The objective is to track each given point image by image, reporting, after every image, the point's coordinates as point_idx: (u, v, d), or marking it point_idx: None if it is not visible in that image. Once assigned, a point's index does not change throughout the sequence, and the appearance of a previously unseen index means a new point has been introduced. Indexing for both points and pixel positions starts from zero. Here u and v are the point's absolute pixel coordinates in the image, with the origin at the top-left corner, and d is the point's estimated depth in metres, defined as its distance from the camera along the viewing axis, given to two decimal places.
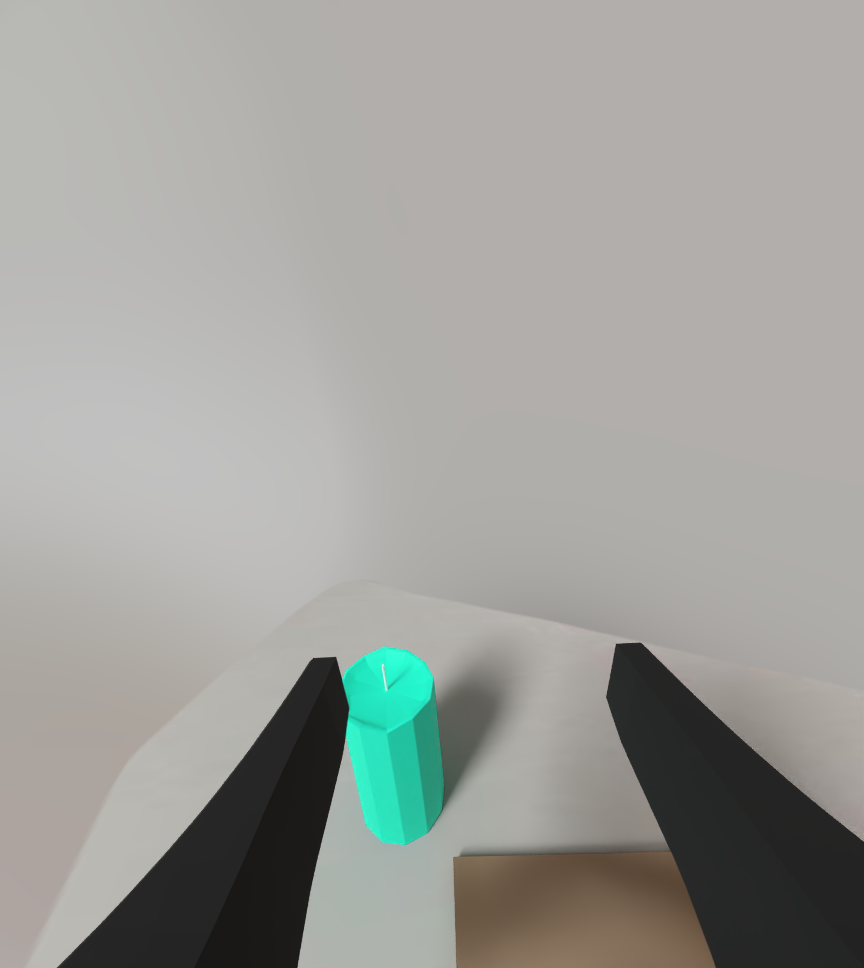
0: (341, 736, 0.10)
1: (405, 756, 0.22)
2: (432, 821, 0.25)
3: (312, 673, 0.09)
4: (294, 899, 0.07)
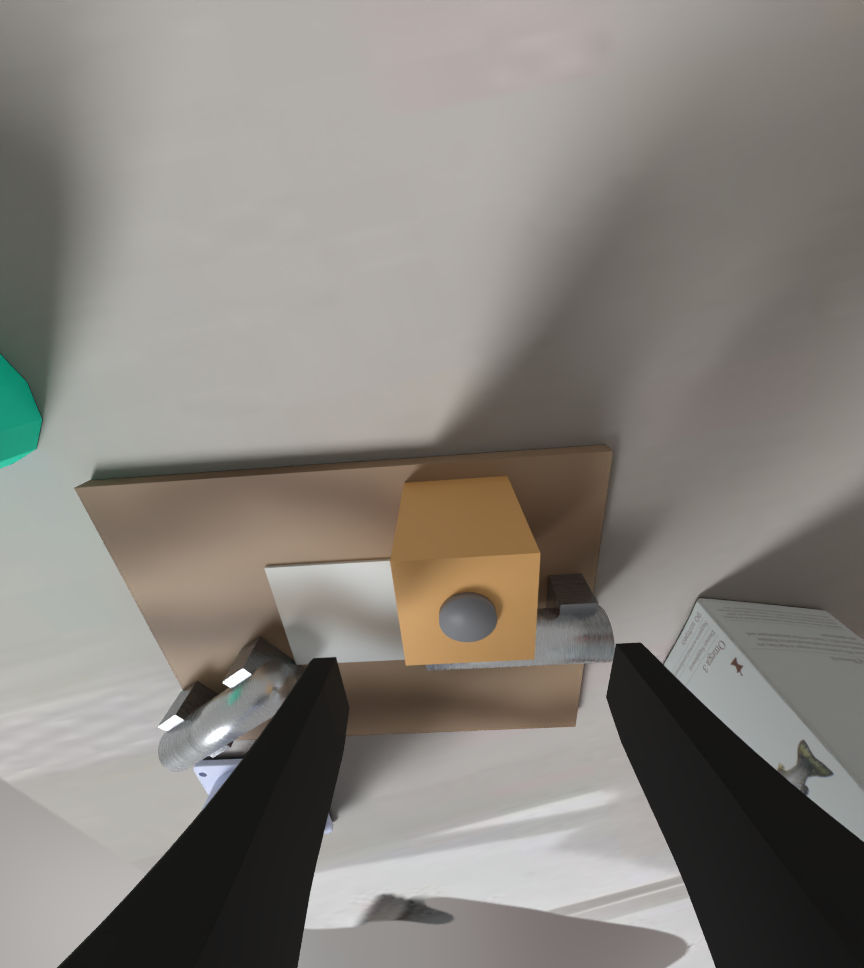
0: (341, 736, 0.10)
1: None
2: (30, 441, 0.16)
3: (312, 673, 0.09)
4: (294, 899, 0.07)
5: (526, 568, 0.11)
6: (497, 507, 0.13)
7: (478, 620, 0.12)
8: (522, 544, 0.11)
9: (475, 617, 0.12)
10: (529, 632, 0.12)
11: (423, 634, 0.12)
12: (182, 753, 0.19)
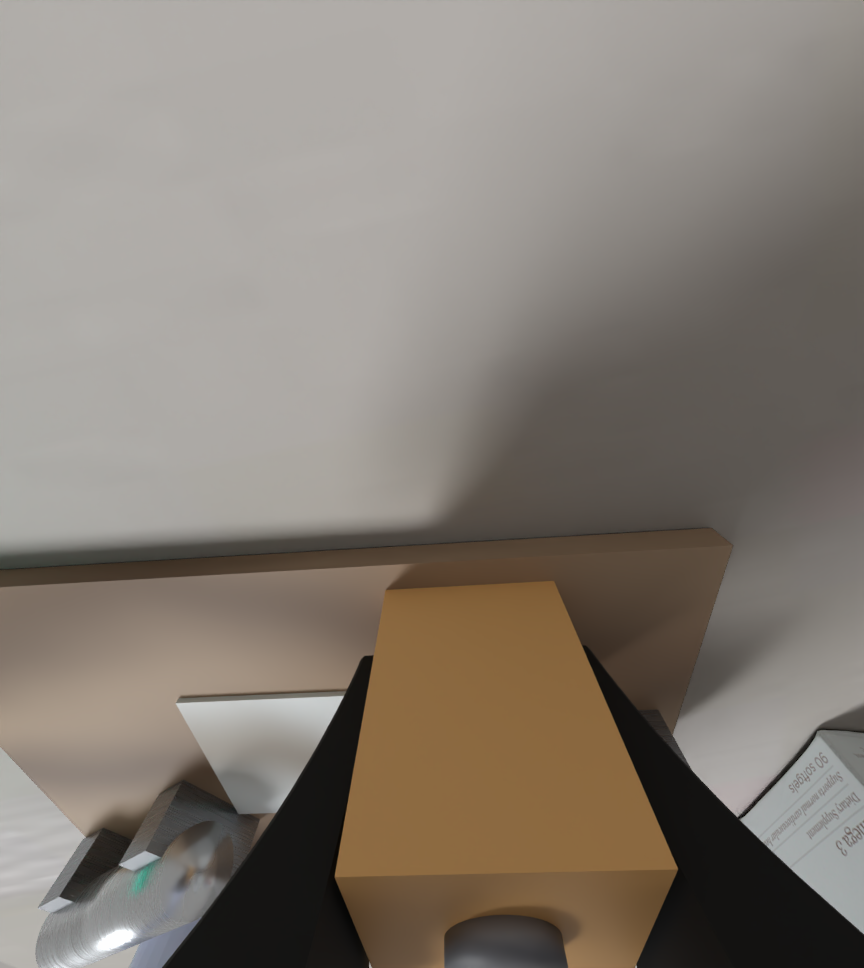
0: None
1: None
2: None
3: (367, 671, 0.09)
4: None
5: (640, 889, 0.05)
6: (551, 675, 0.07)
7: None
8: (627, 823, 0.05)
9: (522, 966, 0.05)
10: (625, 959, 0.06)
11: (412, 957, 0.06)
12: (65, 960, 0.13)
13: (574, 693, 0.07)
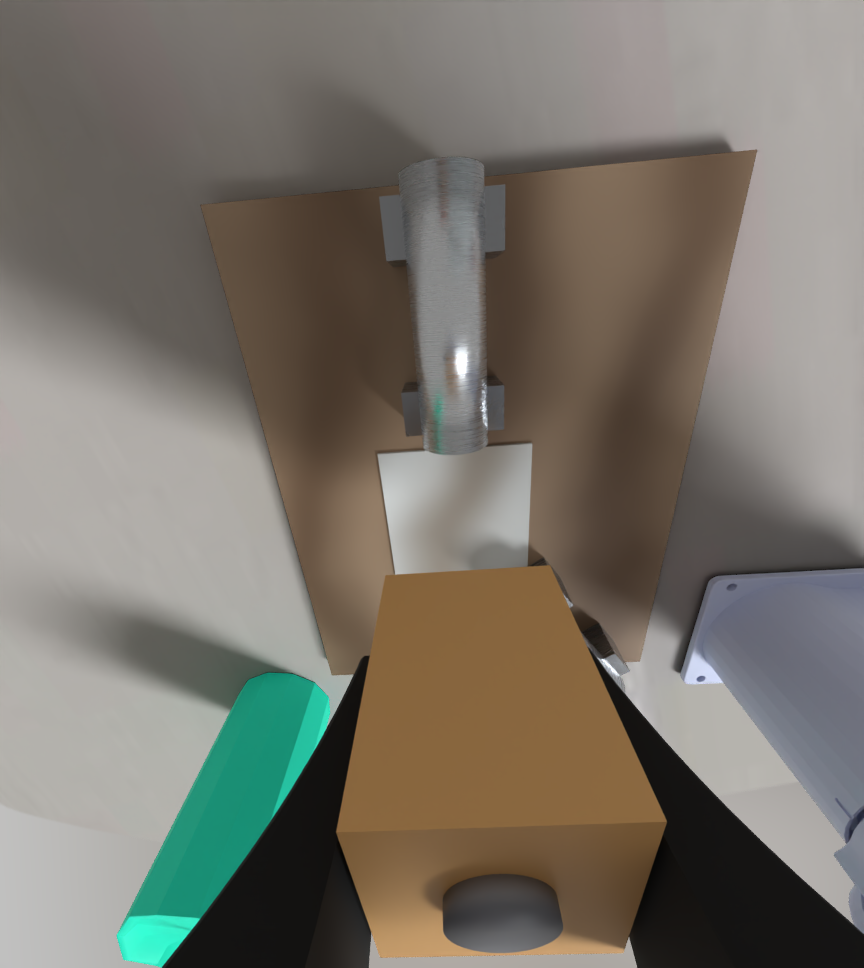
0: None
1: None
2: (305, 684, 0.23)
3: (366, 670, 0.09)
4: None
5: (631, 843, 0.05)
6: (546, 650, 0.07)
7: (524, 929, 0.06)
8: (618, 781, 0.05)
9: (518, 925, 0.06)
10: (620, 923, 0.06)
11: (412, 923, 0.06)
12: None
13: (568, 666, 0.07)
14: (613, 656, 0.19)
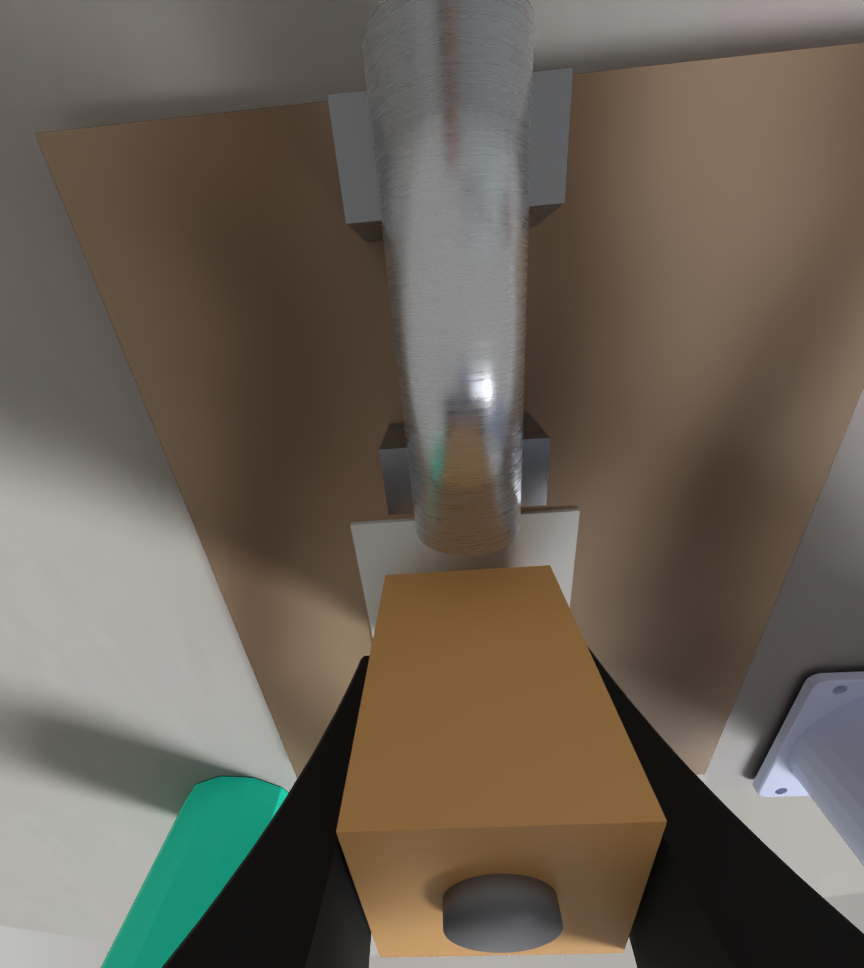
0: None
1: None
2: (268, 792, 0.18)
3: None
4: None
5: (631, 843, 0.05)
6: (546, 650, 0.07)
7: (523, 928, 0.06)
8: (618, 781, 0.05)
9: (518, 925, 0.06)
10: (620, 923, 0.06)
11: (412, 922, 0.06)
12: None
13: (568, 666, 0.07)
14: None
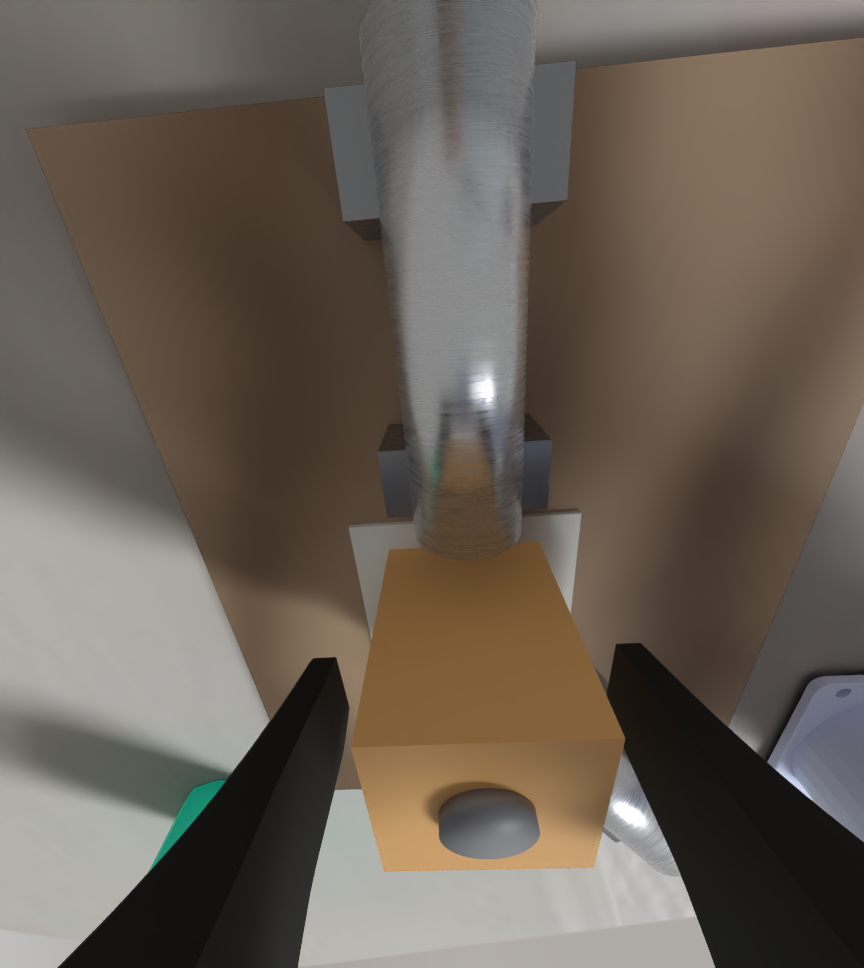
0: (341, 736, 0.10)
1: None
2: None
3: (312, 673, 0.09)
4: (294, 899, 0.07)
5: (596, 759, 0.06)
6: (532, 611, 0.08)
7: (507, 834, 0.07)
8: (587, 710, 0.06)
9: (502, 831, 0.07)
10: (589, 837, 0.07)
11: (412, 836, 0.07)
12: (652, 858, 0.13)
13: (551, 623, 0.08)
14: None
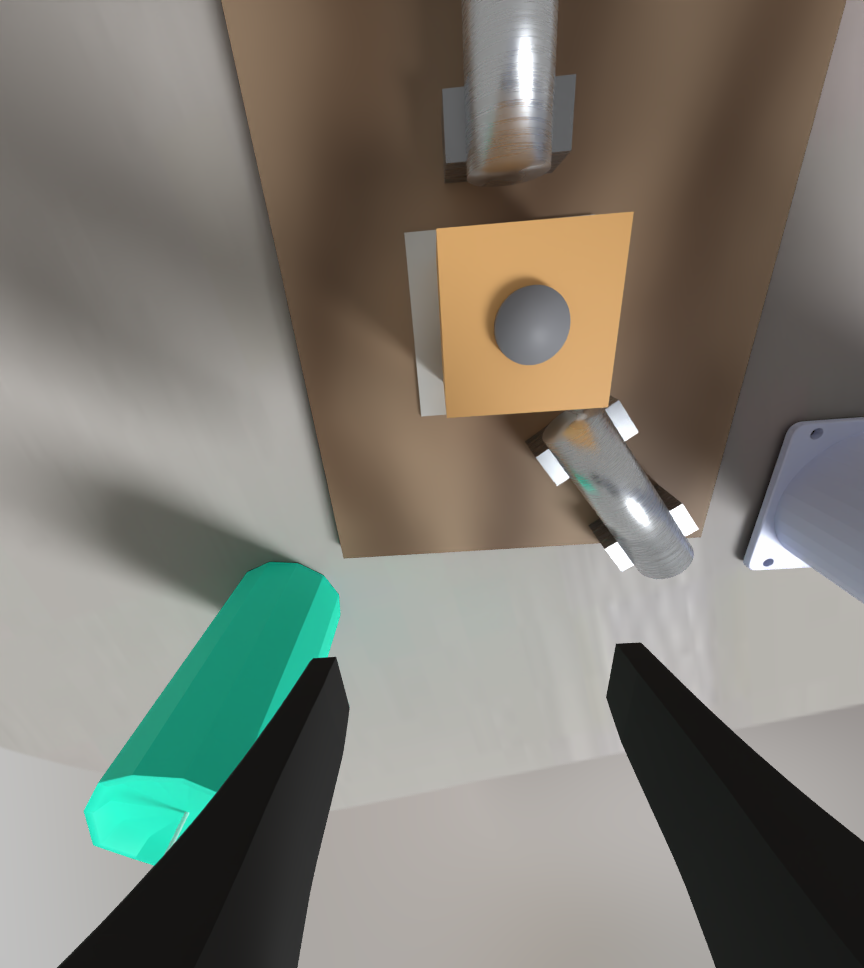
0: (341, 736, 0.10)
1: None
2: (312, 575, 0.20)
3: (312, 673, 0.09)
4: (294, 899, 0.07)
5: (612, 240, 0.09)
6: None
7: (546, 325, 0.09)
8: None
9: (542, 319, 0.09)
10: (606, 359, 0.10)
11: (471, 363, 0.10)
12: (652, 551, 0.15)
13: None
14: (680, 507, 0.16)
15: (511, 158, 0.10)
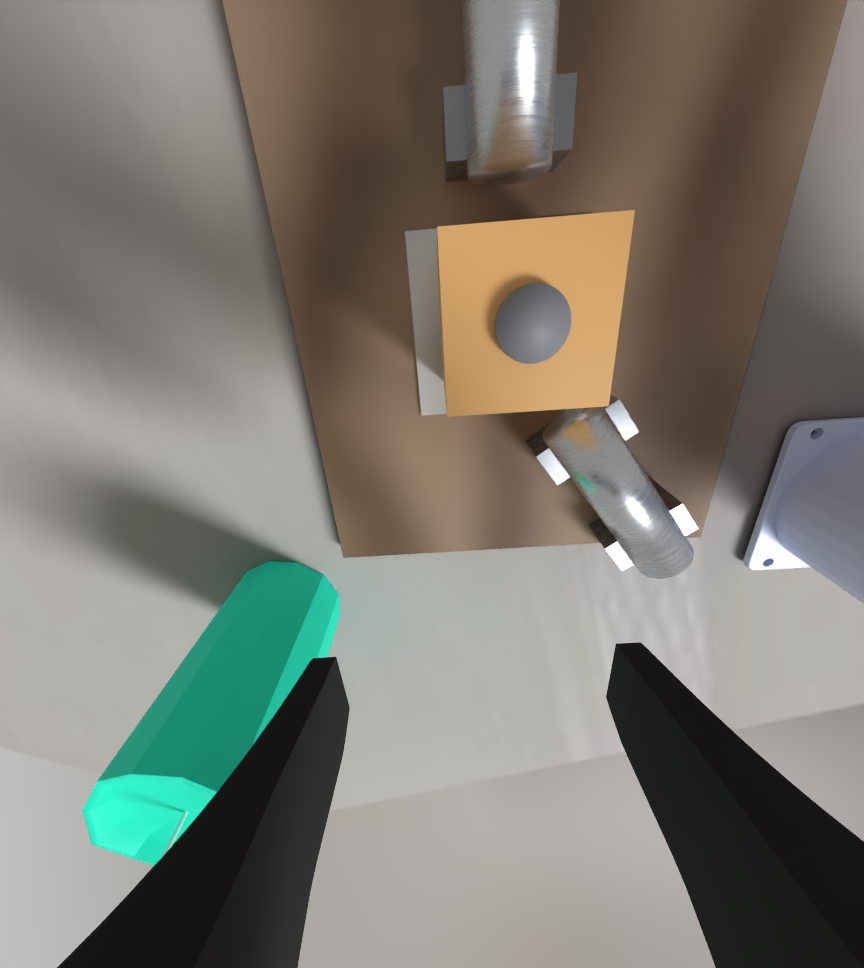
0: (341, 736, 0.10)
1: None
2: (312, 574, 0.20)
3: (312, 673, 0.09)
4: (294, 899, 0.07)
5: (614, 239, 0.09)
6: None
7: (547, 323, 0.09)
8: None
9: (543, 317, 0.09)
10: (606, 357, 0.10)
11: (472, 362, 0.10)
12: (652, 551, 0.15)
13: None
14: (680, 507, 0.16)
15: (512, 156, 0.10)
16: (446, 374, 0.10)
